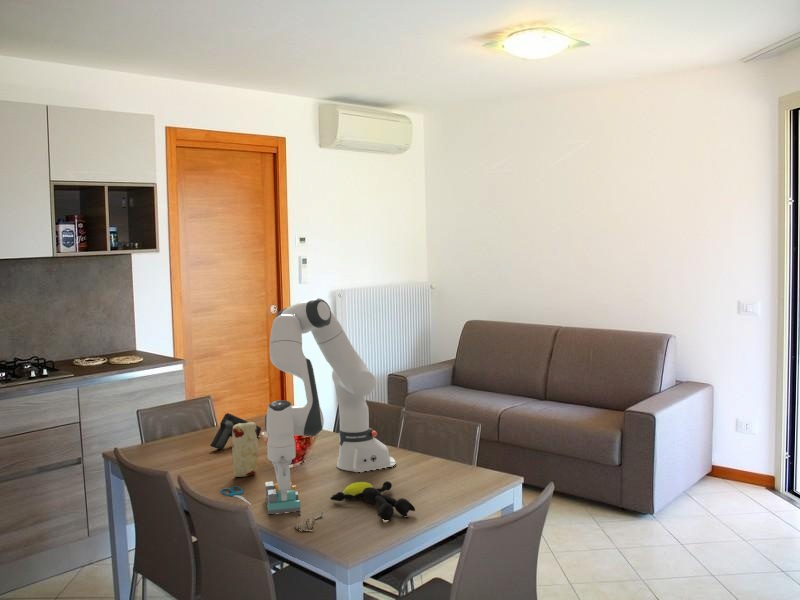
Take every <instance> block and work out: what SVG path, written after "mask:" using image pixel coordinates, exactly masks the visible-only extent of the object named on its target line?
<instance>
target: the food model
mask: <svg viewBox="0 0 800 600" xmlns="http://www.w3.org/2000/svg"><path fill="white" fill-rule="evenodd" d="M247 422H248V423H239V424H236V425H234V426H233V433H232V437H231V438H232V439H231V440H232V441H231V452H232V453H231V454H232V466H233V469H232V470H233V476H234V477H236V478H237V477H238V478H239V477H240V478H241V477H242V478H243V477H249V476H254V475H256V473H257V468H258V458H259V438H257V430H256V426H257V425H256V422H252V421H247Z"/></svg>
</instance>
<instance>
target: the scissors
mask: <svg viewBox="0 0 800 600" xmlns="http://www.w3.org/2000/svg"><path fill="white" fill-rule="evenodd" d="M233 488H234V489H238V490H239V491H236V490H234V489H233ZM224 490H225V491H228V490H229V493H226V492H225V491H224ZM220 493H221V494H222V495H224V496H226V497H234V498H238V499H239V500H240V501H241V500H242V501H244V502H245V503H246V504H249V505H250V506H252V505H251V502H249V501H248V500H247V499H246V498H245V497H243V496H242V495H244V490H243V488H241V487H240V486H231V487H230V488H221V489H220Z"/></svg>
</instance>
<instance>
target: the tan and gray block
mask: <svg viewBox="0 0 800 600" xmlns="http://www.w3.org/2000/svg"><path fill="white" fill-rule="evenodd" d="M290 482H291V488H290V490H292V486H293V483H292V481H290ZM264 483H265V484H264V487H265V501H266V500H267V495H268V490H274V489H276V492H279V491H280V490H279V488H278V483H277V482H276V483H274V481H266V482H264ZM290 490H288V491H290Z"/></svg>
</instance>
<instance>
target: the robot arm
mask: <svg viewBox="0 0 800 600" xmlns="http://www.w3.org/2000/svg"><path fill="white" fill-rule="evenodd" d="M309 332H311V335H312V336H313V339H314V341H315V342H316V344H317V346H318V348H319V350H320V352H321V353H322V355H323V356H324V359H325V361H326V362H327V363H328V365H330V367H331V368H332V374H331V378H332V380H333V384H334V388H335V393H336V399H337V403H338V411H339V429H338V444H339V451H338V458H337V463H336V467H337V468H338V469H340V470H342V471H349V472H353V473H358V472H360V473H365V472H364V471H367V472H371V471H370V470H373V471H377V470H376V469H379V470H383V469H382V468H385V469H387V468H386V467H391V466H394V465H395V464H396V460H395V459H394V457H392V456H390V452H389V449H388V447H387V446H386V445H385V444H384V443H383V442H381V441H380V440H378V439H377V438H375V437H377V436H378V432H377V431H376V430H374V429H373V428H371V427H369V426H370V422H369V421H370V420H369V418H370V417H369V414H370V413H369V406H368V403H367V401H366V396H369V395H371V393H373V391H374V389H375V387H376V378H375V376H374V375H373V372H371V371H370V369H369V368H368V367H367V365H366V364H365V362H364V360H363V359H362V358H361V356H360V355H359V354H358V352H357V351H356V350H355V348H354V347H353V345H352V343H351V341H350V339H349V337H348V336H347V334H346V332H345V330H344V328H343V326H342V325H341V323H340V321H339V320H338V318H337V317H336V316H335V315H334V313H333V312H332V310H331V308H330V305H329V304H328V302H326V301H325V300H324V299H323V298H319V297H317V298H310V299H308V300H303V301H299V302H297V303H295V304H292V305H291V306H288V307H284V308H283V309H281V310H280V311H278V313H277V314H276V316H275V318H274V319H273V322H272V325H271V330H270V337H269V359H270V362H271V364H273V366H274V367H275V368H277V369H278V370H279V371H282V372H284V373H286V374H289V375H292V376H295V377H297V378H299V379H300V380H301V381H302V382H303V386H304V390H305V391H304V392H305V398H306V404H305V405H292V403H291V402H290V401H289V400H285V399H284V400H283V399H279V400H274V401H272V402H270V403H269V404H268V406H267V410H266V411H267V412H266V414H265V416H264V429H265V430H264V431H265V432H266V433H267V442H266V446H267V447H266V449H267V452H266V453H267V454H266V455H267V460H269V461H270V462H271V465H273V470H274V472H275V473H274V474H275V477H276V483H278V488H279V490H280V491H281V500H282V501H286V500H287V492H288V490H290V488H291V482H292V481H291V470H290V469H291V468H290V464H292V463H293V460H295V458H296V455H297V454H296V440H295V437H294V436H304V437H305V436H306V437H315V436H316V435H318V434H319V433H320V432H321V431H322V430H323V429H324V425H325V424H324V422H325V421H324V420H325V419H324V413H323V410H322V409H321V404H320V401H319V395H318V389H317V382H316V378H315V377H316V376H315V372H314V371H315V370H314V367H313V364H312V361H311V359H309V358H308V357H306V356H305V355H304V354H305V353H304V352H303V334H307V333H309ZM395 466H396V465H395ZM395 466H394V467H395Z"/></svg>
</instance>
